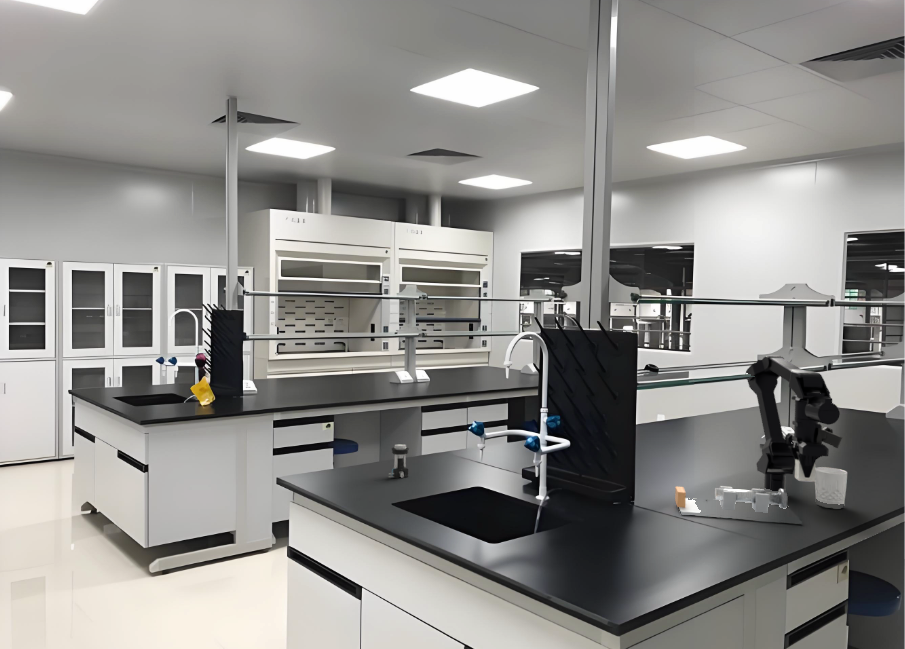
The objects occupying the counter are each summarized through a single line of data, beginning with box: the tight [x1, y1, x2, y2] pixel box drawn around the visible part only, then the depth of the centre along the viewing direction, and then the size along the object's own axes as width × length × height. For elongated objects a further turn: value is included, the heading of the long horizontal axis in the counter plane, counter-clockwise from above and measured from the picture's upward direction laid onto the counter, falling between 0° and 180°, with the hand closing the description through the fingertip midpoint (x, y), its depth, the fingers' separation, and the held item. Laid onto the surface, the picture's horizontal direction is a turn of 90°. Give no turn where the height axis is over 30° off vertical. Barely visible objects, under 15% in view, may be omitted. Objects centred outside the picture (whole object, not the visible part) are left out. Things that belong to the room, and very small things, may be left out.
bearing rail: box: [674, 485, 770, 513], centre depth 178 cm, size 14×30×6 cm, turn 77°
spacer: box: [794, 459, 817, 483], centre depth 182 cm, size 4×4×5 cm
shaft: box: [714, 487, 789, 509], centre depth 177 cm, size 5×17×5 cm, turn 77°
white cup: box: [814, 466, 848, 505], centre depth 185 cm, size 8×8×10 cm
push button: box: [388, 443, 410, 479], centre depth 208 cm, size 7×5×10 cm
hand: (804, 475), depth 182 cm, fingers closed on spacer, 4 cm apart
